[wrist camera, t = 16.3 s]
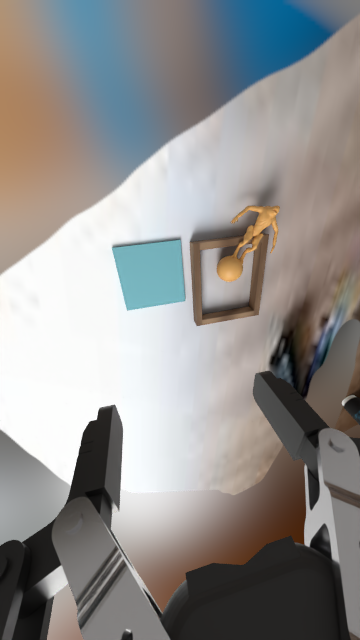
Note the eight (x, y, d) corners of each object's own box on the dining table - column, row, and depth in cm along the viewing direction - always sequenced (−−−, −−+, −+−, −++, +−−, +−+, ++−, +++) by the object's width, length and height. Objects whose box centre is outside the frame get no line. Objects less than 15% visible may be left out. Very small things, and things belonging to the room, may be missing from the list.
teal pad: (179, 239, 30) (180, 239, 30) (184, 300, 35) (185, 301, 35) (112, 247, 29) (112, 248, 28) (127, 309, 34) (127, 310, 33)
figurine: (201, 272, 30) (266, 194, 22) (199, 253, 34) (253, 182, 27) (241, 296, 33) (310, 235, 26) (235, 276, 37) (292, 218, 30)
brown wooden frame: (261, 233, 32) (268, 234, 30) (253, 310, 39) (258, 314, 37) (189, 241, 30) (193, 243, 29) (194, 320, 37) (197, 326, 36)
